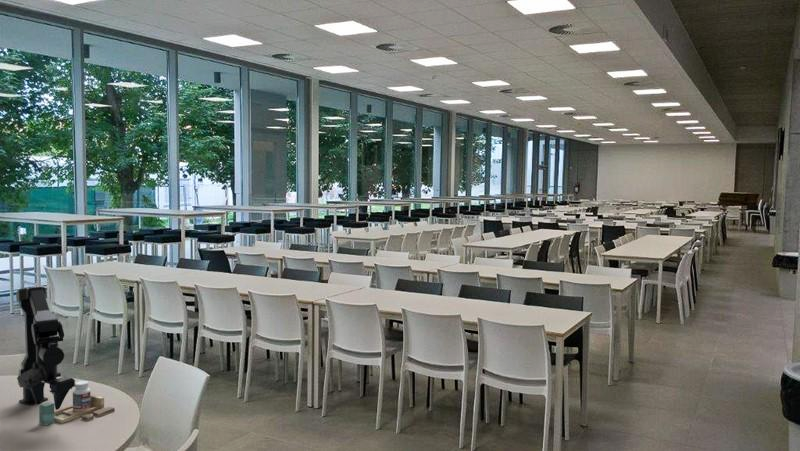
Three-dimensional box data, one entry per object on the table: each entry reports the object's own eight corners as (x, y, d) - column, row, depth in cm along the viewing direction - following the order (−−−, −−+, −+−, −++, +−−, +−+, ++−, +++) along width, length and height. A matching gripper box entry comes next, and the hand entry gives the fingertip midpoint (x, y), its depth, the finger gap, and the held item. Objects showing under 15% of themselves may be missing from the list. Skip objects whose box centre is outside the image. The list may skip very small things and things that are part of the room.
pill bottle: (82, 412, 207) (82, 386, 206) (69, 410, 208) (68, 384, 207) (94, 406, 212) (93, 381, 211) (80, 405, 213) (80, 379, 212)
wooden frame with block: (33, 421, 199) (32, 403, 199) (86, 403, 216) (85, 385, 216) (51, 426, 195) (51, 408, 195) (104, 407, 212) (103, 390, 212)
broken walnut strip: (81, 419, 202) (81, 416, 202) (108, 409, 211) (108, 406, 211) (88, 420, 201) (88, 417, 201) (114, 410, 210) (114, 408, 210)
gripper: (2, 360, 194) (3, 409, 196) (41, 369, 186) (42, 420, 187) (36, 351, 204) (37, 398, 206) (75, 360, 196) (76, 409, 197)
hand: (47, 406), depth 199 cm, fingers open, 9 cm apart
